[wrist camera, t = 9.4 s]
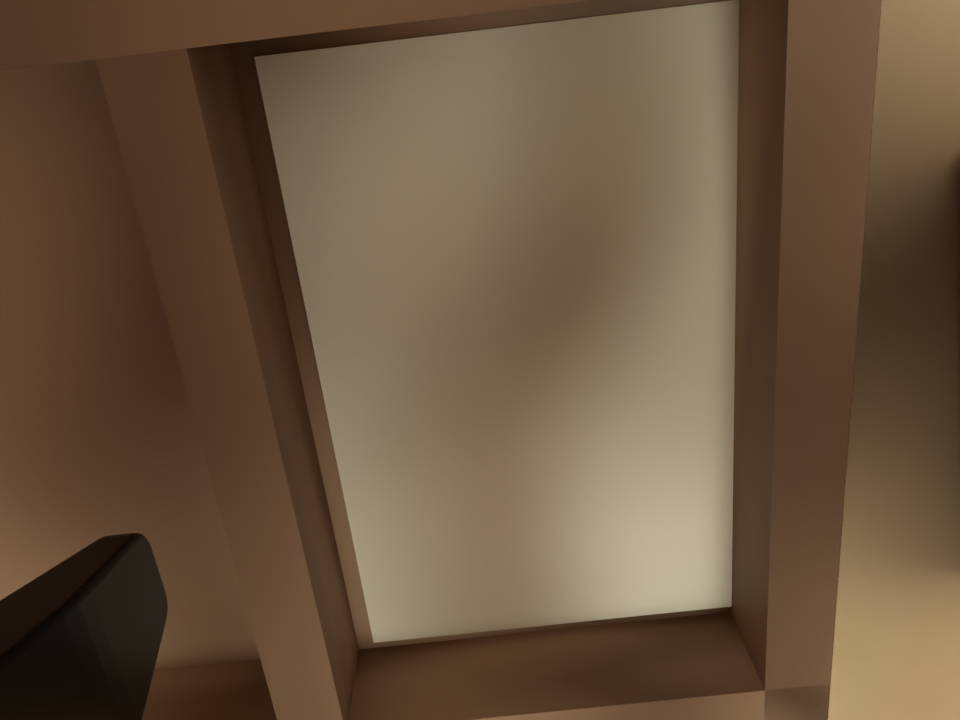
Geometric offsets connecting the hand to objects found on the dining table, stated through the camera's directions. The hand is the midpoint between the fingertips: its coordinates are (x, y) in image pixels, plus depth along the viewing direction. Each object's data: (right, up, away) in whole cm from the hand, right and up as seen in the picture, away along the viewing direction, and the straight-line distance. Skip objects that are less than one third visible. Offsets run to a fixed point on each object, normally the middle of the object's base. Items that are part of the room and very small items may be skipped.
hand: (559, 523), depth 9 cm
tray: (-5, +1, +4) cm, 7 cm away
